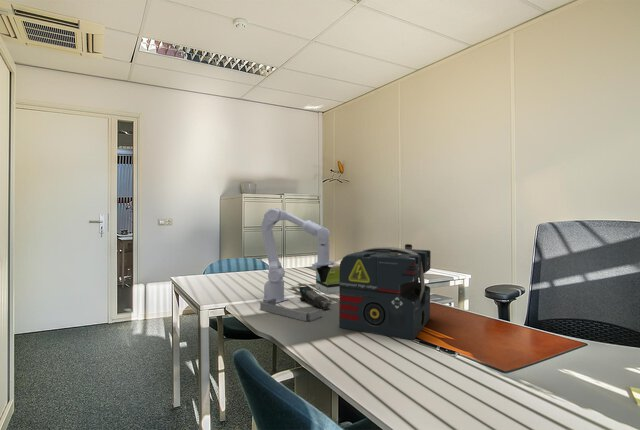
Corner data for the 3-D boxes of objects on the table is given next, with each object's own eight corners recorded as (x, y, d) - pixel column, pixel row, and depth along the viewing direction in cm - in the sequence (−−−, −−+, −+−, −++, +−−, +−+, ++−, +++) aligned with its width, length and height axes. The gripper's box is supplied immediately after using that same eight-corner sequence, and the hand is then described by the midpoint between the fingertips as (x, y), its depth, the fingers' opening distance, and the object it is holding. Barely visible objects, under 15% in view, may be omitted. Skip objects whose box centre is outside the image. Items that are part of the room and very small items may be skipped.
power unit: (338, 327, 134) (339, 247, 134) (365, 309, 159) (365, 241, 158) (414, 341, 121) (415, 251, 121) (430, 319, 145) (431, 244, 145)
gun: (304, 298, 176) (308, 280, 173) (327, 322, 161) (332, 302, 158) (296, 299, 174) (300, 281, 171) (319, 323, 158) (323, 304, 155)
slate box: (258, 309, 158) (258, 302, 158) (273, 305, 165) (273, 298, 165) (308, 322, 141) (308, 314, 140) (322, 316, 148) (322, 309, 148)
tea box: (315, 288, 198) (315, 262, 198) (331, 287, 203) (331, 260, 202) (327, 294, 185) (327, 266, 185) (344, 293, 189) (344, 264, 189)
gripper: (320, 255, 163) (320, 285, 163) (339, 252, 174) (338, 280, 174) (308, 254, 167) (308, 283, 167) (327, 251, 178) (327, 278, 179)
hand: (323, 281), depth 171 cm, fingers closed
